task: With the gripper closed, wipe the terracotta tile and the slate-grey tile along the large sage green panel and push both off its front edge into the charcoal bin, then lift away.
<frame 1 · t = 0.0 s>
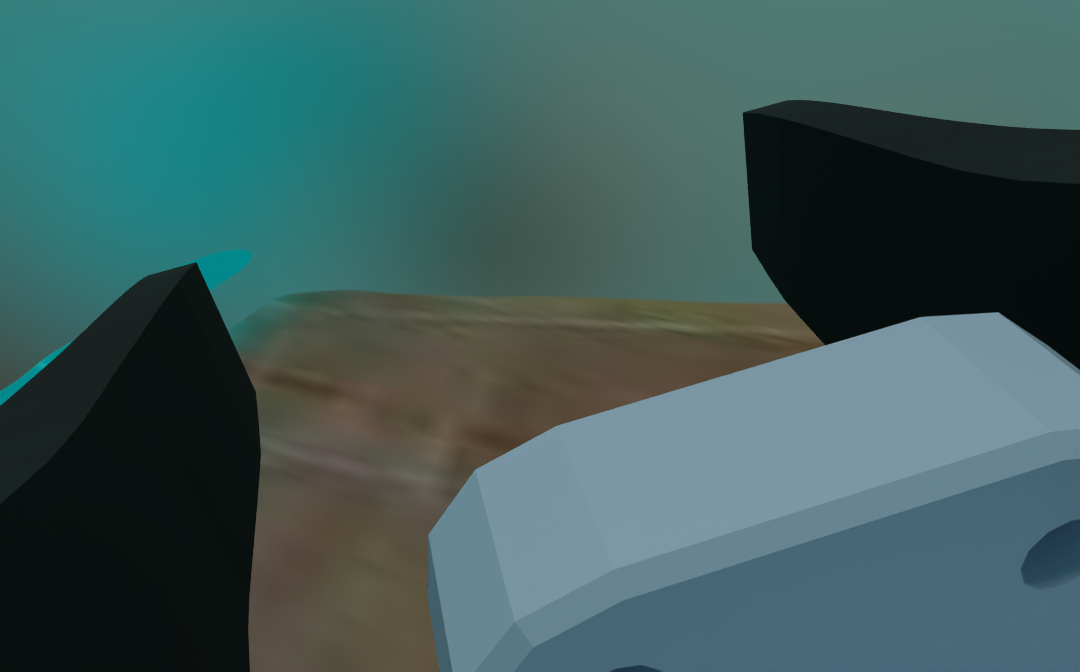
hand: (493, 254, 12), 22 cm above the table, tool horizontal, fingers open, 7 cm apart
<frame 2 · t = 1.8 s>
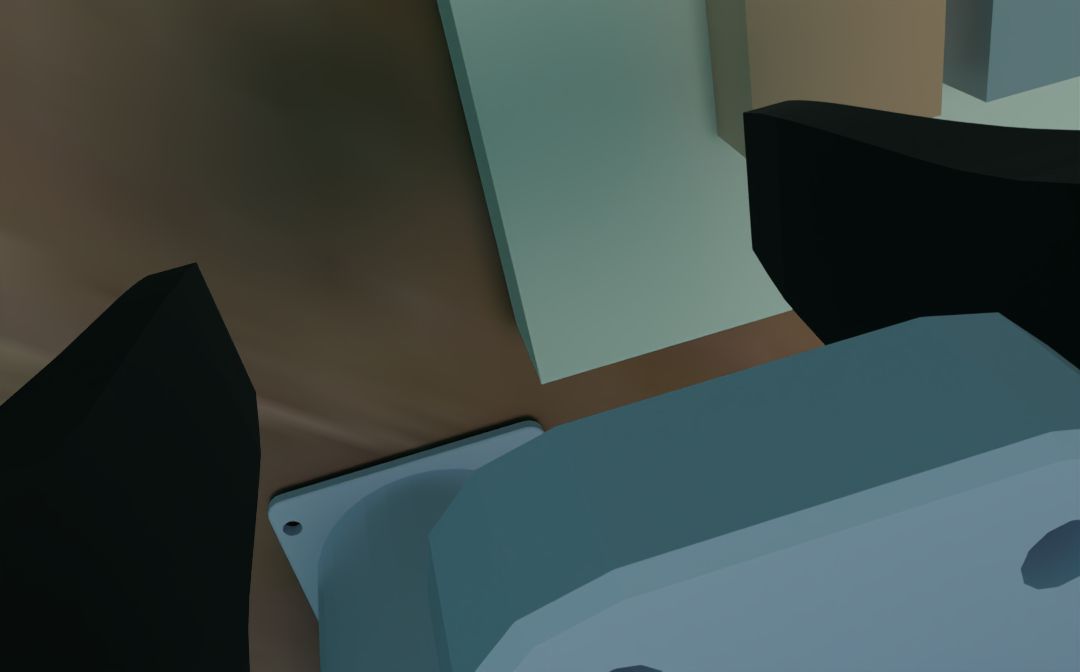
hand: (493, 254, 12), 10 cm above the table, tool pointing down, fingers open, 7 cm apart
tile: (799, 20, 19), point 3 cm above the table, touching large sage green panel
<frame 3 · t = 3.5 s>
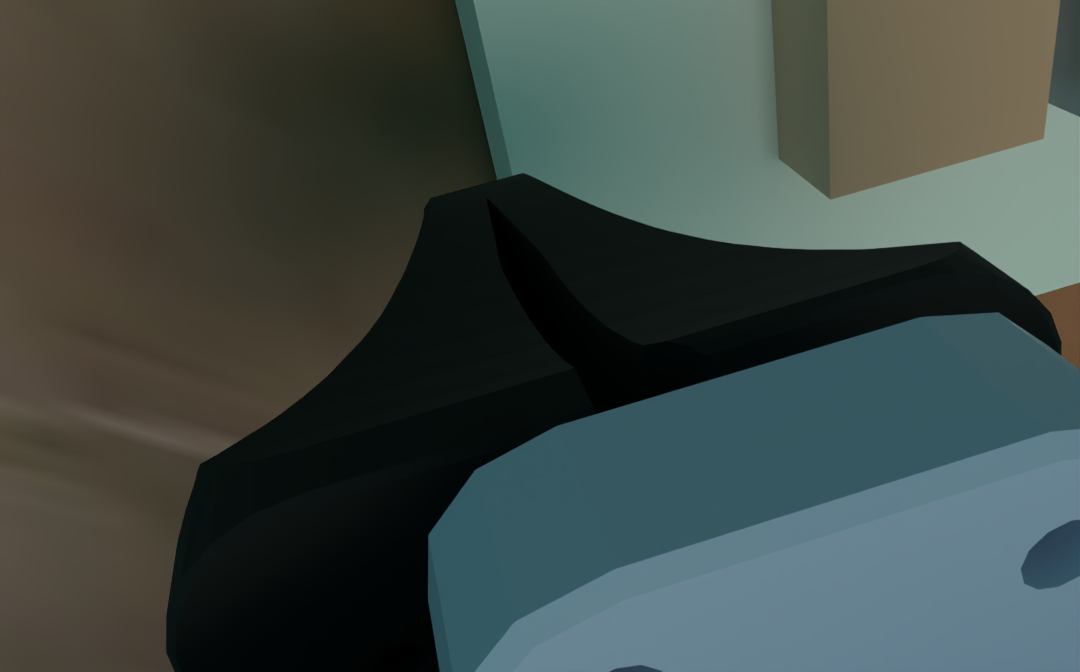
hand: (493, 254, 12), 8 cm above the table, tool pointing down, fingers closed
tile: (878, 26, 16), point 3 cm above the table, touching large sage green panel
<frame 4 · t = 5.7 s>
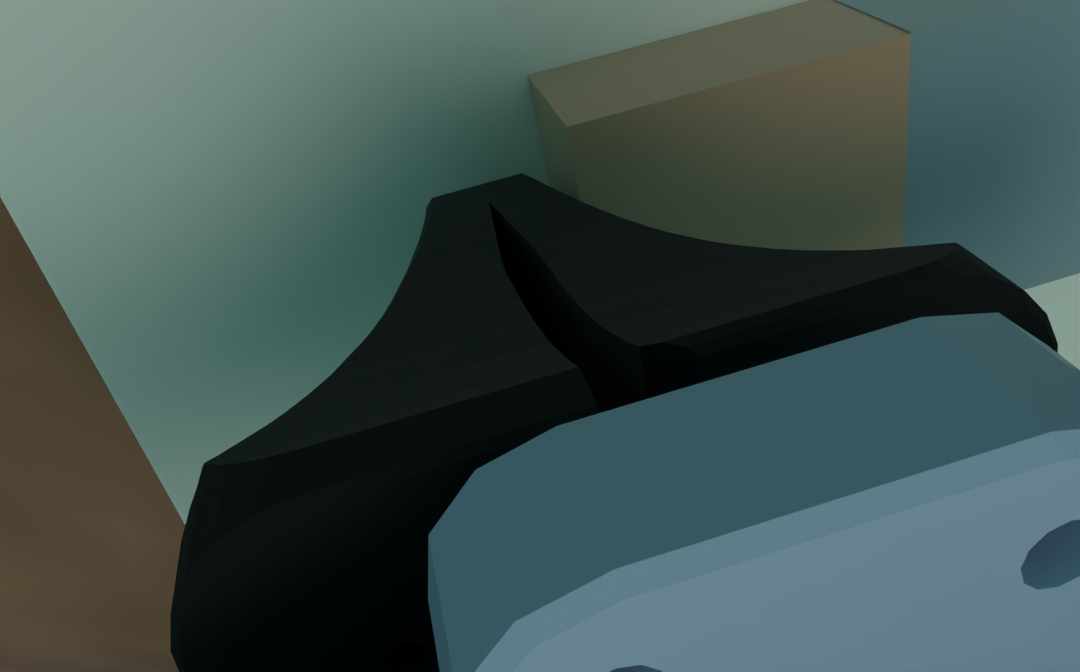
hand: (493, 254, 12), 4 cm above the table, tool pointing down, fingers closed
large sage green panel: (600, 117, 15), on the table
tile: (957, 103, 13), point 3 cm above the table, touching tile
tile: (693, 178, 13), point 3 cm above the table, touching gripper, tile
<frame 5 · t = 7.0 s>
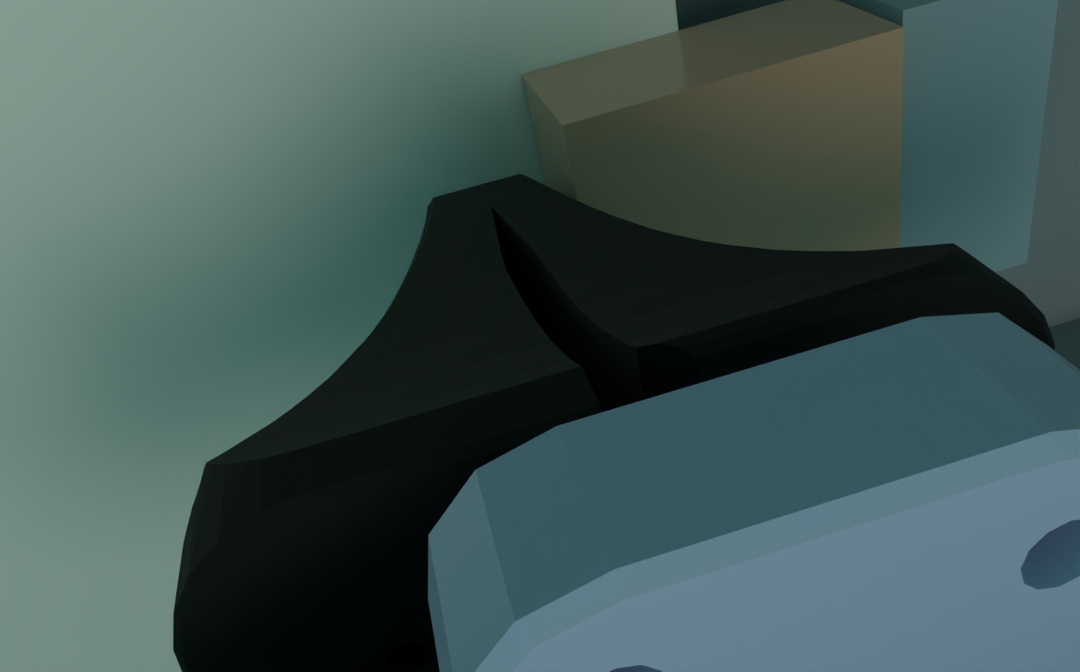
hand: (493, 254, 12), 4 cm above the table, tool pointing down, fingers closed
large sage green panel: (149, 237, 15), on the table
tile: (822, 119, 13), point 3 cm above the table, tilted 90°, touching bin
bin: (1012, 5, 16), on the table
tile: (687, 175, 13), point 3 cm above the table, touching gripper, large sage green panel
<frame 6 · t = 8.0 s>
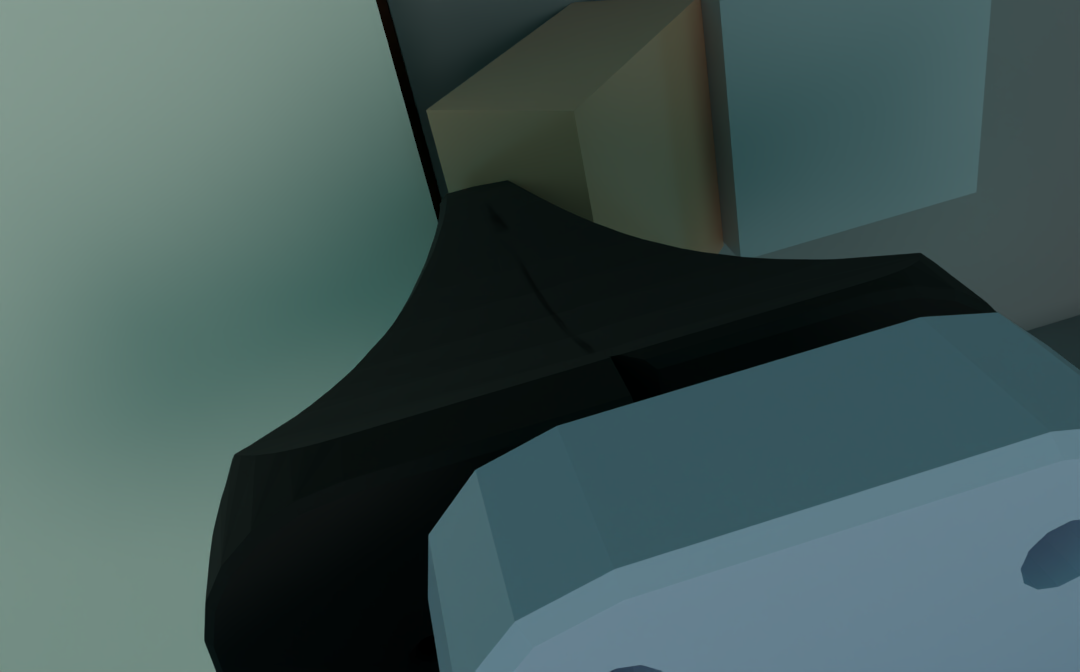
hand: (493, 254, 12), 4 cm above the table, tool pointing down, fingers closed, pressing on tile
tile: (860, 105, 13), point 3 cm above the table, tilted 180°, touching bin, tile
bin: (816, 56, 16), on the table
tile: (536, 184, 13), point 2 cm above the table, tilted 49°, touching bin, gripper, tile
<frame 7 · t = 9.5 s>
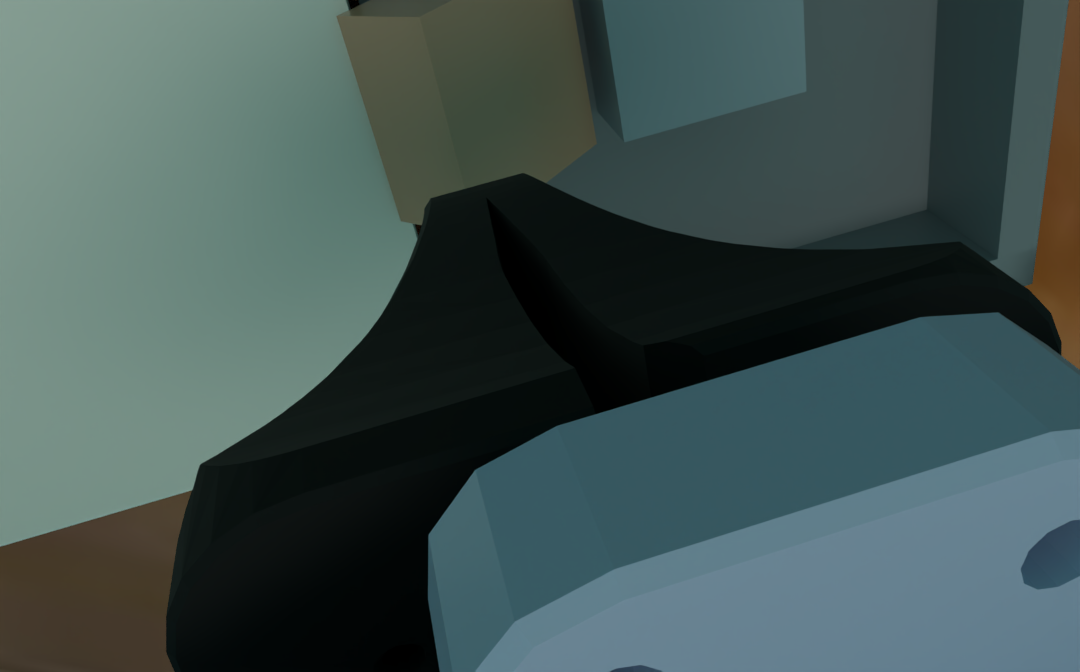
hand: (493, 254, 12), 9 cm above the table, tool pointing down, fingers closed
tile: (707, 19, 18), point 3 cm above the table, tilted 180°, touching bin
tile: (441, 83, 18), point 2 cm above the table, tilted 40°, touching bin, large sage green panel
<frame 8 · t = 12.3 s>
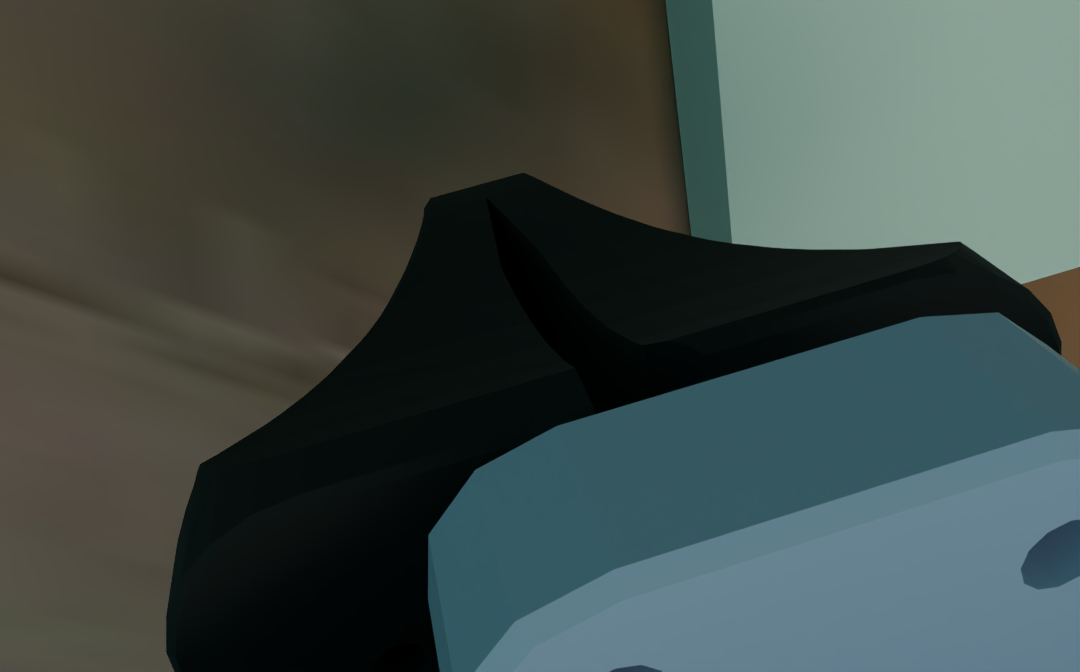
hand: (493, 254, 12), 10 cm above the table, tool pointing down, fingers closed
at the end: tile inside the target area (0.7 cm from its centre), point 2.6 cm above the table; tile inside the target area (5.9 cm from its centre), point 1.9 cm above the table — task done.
